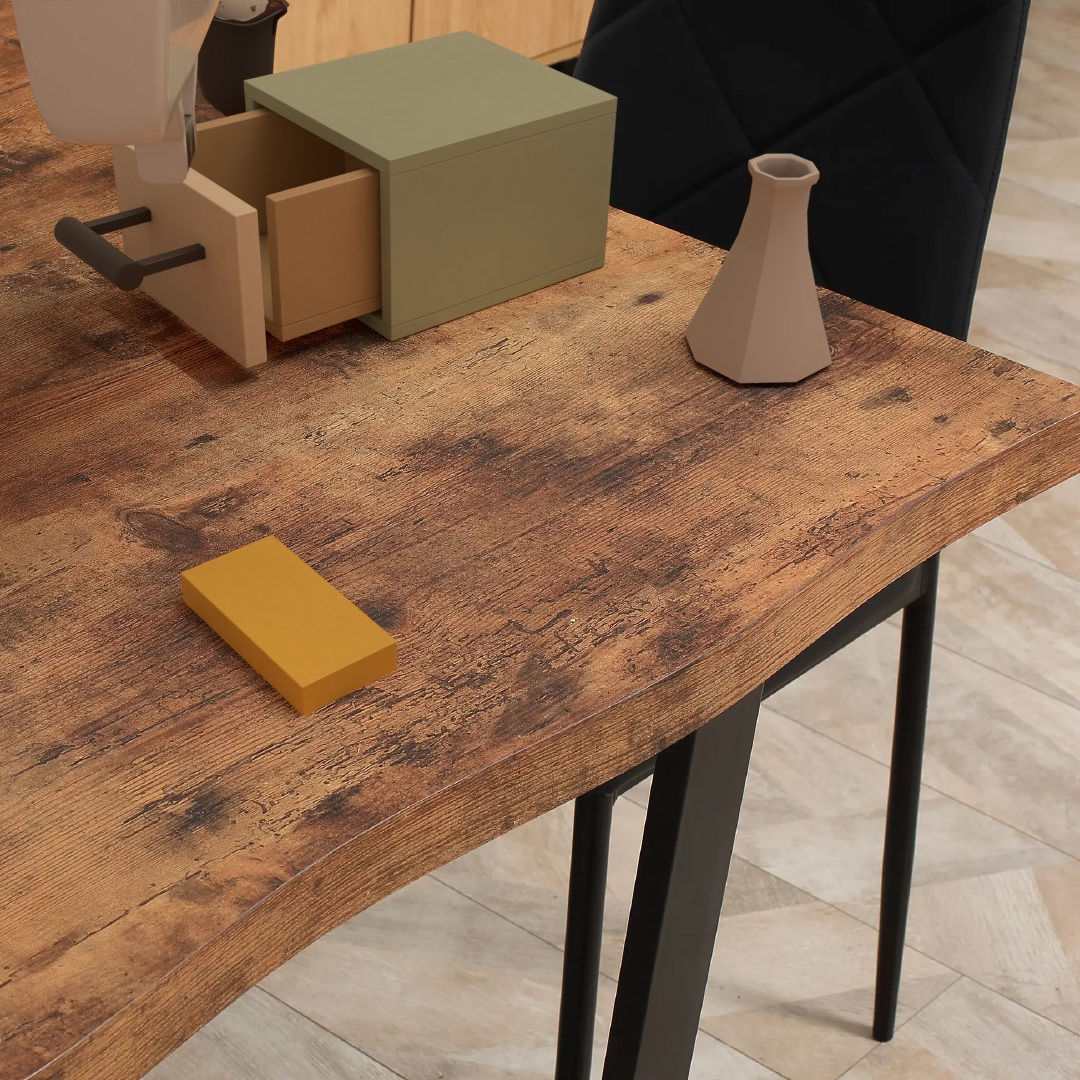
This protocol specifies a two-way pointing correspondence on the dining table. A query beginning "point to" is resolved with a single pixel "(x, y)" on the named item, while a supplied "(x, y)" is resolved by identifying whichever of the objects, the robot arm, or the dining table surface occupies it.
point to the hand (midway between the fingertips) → (169, 169)
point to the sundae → (237, 50)
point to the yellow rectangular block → (289, 623)
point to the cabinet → (462, 168)
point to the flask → (766, 285)
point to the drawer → (246, 234)
